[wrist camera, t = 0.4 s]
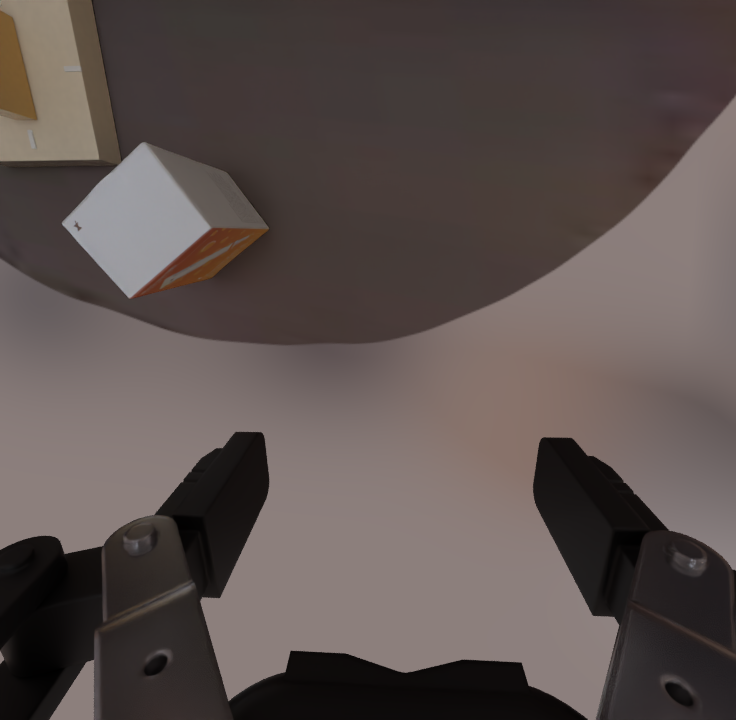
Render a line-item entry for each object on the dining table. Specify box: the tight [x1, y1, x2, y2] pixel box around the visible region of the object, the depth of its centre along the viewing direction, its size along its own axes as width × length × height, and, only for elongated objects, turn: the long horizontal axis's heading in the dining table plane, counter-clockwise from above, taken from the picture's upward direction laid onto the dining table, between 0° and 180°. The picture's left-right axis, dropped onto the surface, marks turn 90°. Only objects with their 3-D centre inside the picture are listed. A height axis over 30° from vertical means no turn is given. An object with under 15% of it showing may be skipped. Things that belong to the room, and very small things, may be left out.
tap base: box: [0, 0, 122, 167], centre depth 32 cm, size 15×11×3 cm
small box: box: [62, 142, 269, 299], centre depth 31 cm, size 8×6×13 cm
